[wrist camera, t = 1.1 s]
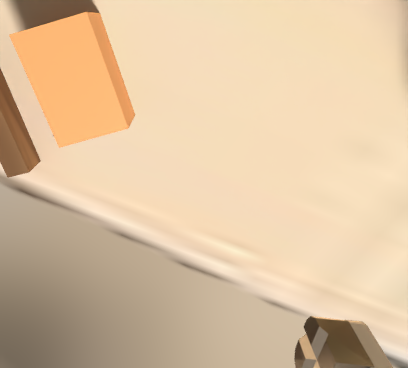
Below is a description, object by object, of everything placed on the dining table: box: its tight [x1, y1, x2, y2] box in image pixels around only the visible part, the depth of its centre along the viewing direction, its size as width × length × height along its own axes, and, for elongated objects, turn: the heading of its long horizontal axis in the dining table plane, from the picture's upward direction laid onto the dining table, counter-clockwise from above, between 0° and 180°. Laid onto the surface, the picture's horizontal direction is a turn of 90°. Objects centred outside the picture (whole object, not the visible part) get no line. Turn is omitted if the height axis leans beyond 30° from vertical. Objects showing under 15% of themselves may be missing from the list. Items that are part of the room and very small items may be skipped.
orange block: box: [9, 12, 135, 148], centre depth 32 cm, size 6×9×5 cm, turn 15°
